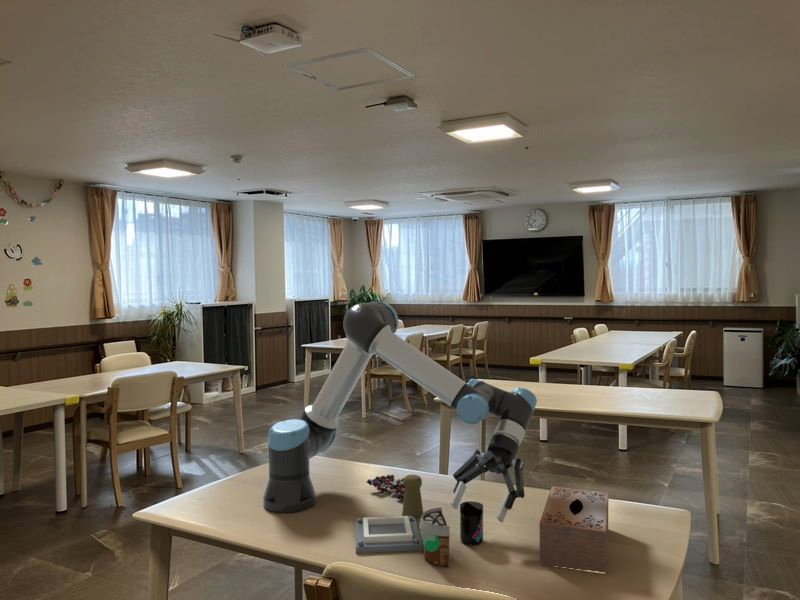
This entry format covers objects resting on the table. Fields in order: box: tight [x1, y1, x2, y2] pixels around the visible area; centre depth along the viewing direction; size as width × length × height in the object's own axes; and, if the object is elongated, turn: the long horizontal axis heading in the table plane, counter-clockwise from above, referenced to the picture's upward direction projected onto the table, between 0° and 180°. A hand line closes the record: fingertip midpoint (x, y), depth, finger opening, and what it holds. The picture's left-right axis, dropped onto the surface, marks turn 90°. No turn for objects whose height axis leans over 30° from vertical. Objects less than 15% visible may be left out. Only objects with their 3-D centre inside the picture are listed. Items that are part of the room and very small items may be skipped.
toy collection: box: [365, 474, 405, 500], centre depth 189 cm, size 15×14×5 cm
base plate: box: [354, 515, 423, 554], centre depth 156 cm, size 16×16×3 cm
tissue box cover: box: [539, 485, 609, 573], centre depth 150 cm, size 26×14×10 cm, turn 160°
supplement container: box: [459, 501, 484, 546], centre depth 153 cm, size 6×6×9 cm
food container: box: [419, 507, 451, 569], centre depth 144 cm, size 12×6×10 cm, turn 5°
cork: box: [401, 474, 424, 520], centre depth 170 cm, size 6×6×11 cm
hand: (475, 513), depth 153 cm, fingers open, 13 cm apart
